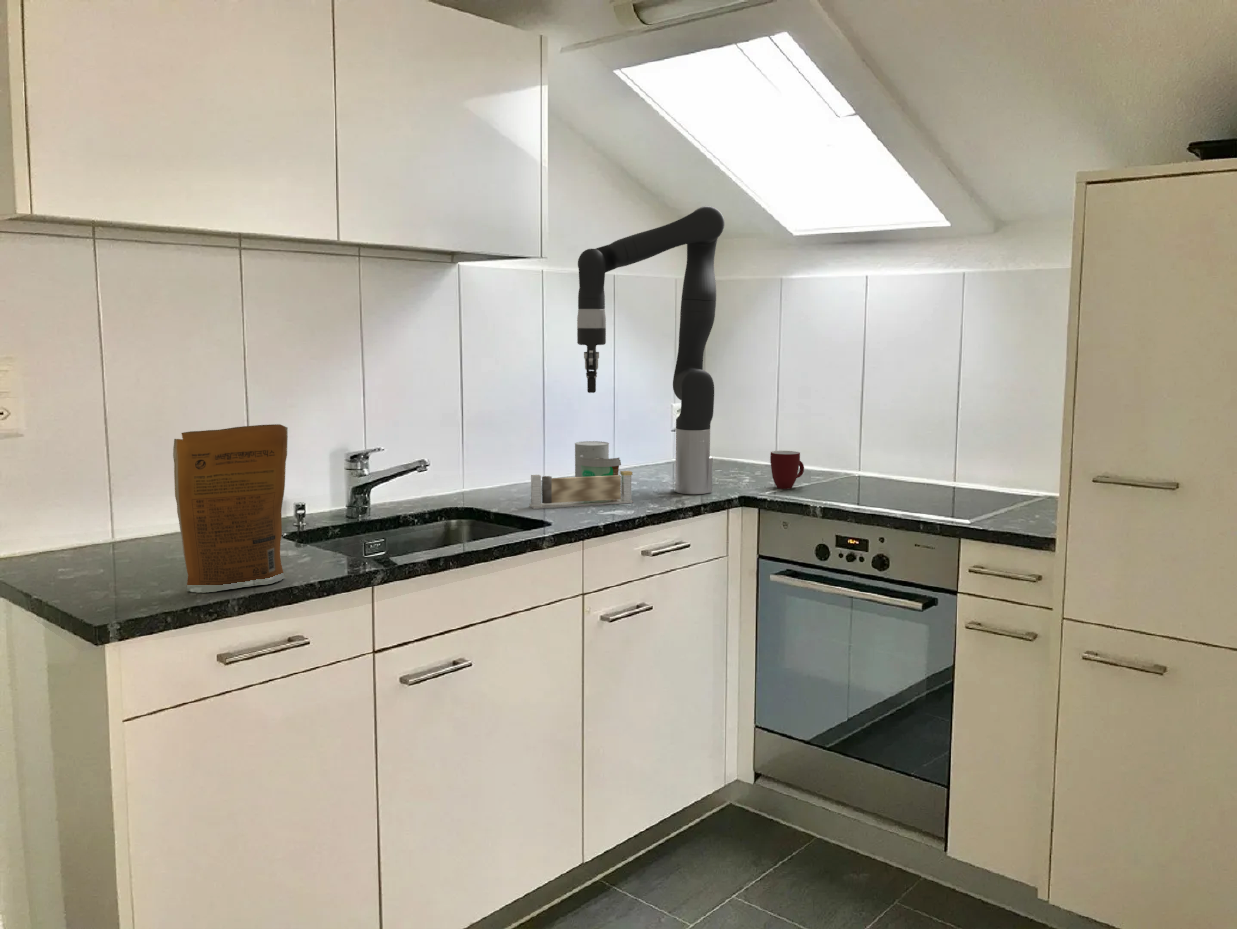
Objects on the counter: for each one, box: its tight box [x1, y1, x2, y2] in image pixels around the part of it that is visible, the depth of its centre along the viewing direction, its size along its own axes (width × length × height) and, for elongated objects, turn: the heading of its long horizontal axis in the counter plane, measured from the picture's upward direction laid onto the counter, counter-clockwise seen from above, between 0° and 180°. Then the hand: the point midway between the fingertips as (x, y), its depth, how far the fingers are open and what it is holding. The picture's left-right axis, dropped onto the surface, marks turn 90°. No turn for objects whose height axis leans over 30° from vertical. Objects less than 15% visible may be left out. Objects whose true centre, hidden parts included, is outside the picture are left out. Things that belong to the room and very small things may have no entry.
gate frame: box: [528, 470, 634, 510], centre depth 251 cm, size 26×4×8 cm, turn 110°
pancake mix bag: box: [172, 423, 289, 586], centre depth 171 cm, size 7×19×28 cm, turn 123°
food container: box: [578, 455, 622, 477], centre depth 266 cm, size 12×6×10 cm, turn 62°
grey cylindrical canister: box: [574, 440, 610, 477], centre depth 278 cm, size 10×10×12 cm
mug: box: [769, 450, 805, 490], centre depth 277 cm, size 11×8×10 cm
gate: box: [541, 474, 621, 504], centre depth 251 cm, size 20×2×6 cm, turn 107°
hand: (591, 392), depth 265 cm, fingers closed
